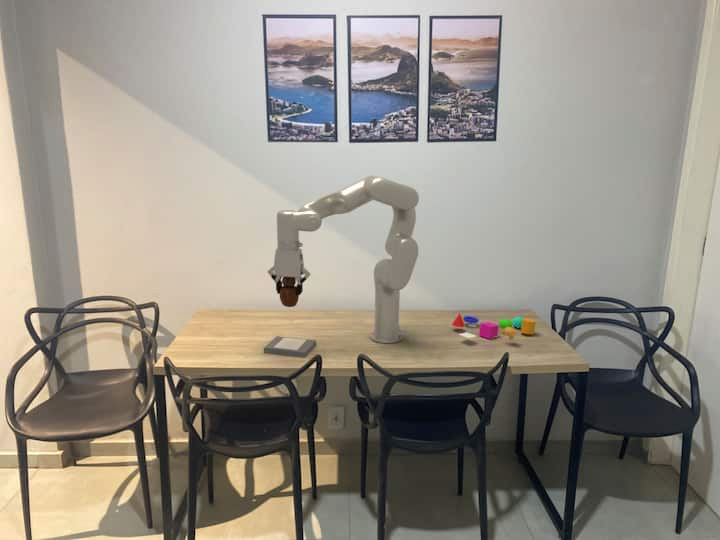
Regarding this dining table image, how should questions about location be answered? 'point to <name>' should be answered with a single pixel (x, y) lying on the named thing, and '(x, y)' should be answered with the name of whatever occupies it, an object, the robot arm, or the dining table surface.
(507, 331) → the shape set
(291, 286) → the wooden figurine
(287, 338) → the display base
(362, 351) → the dining table surface
